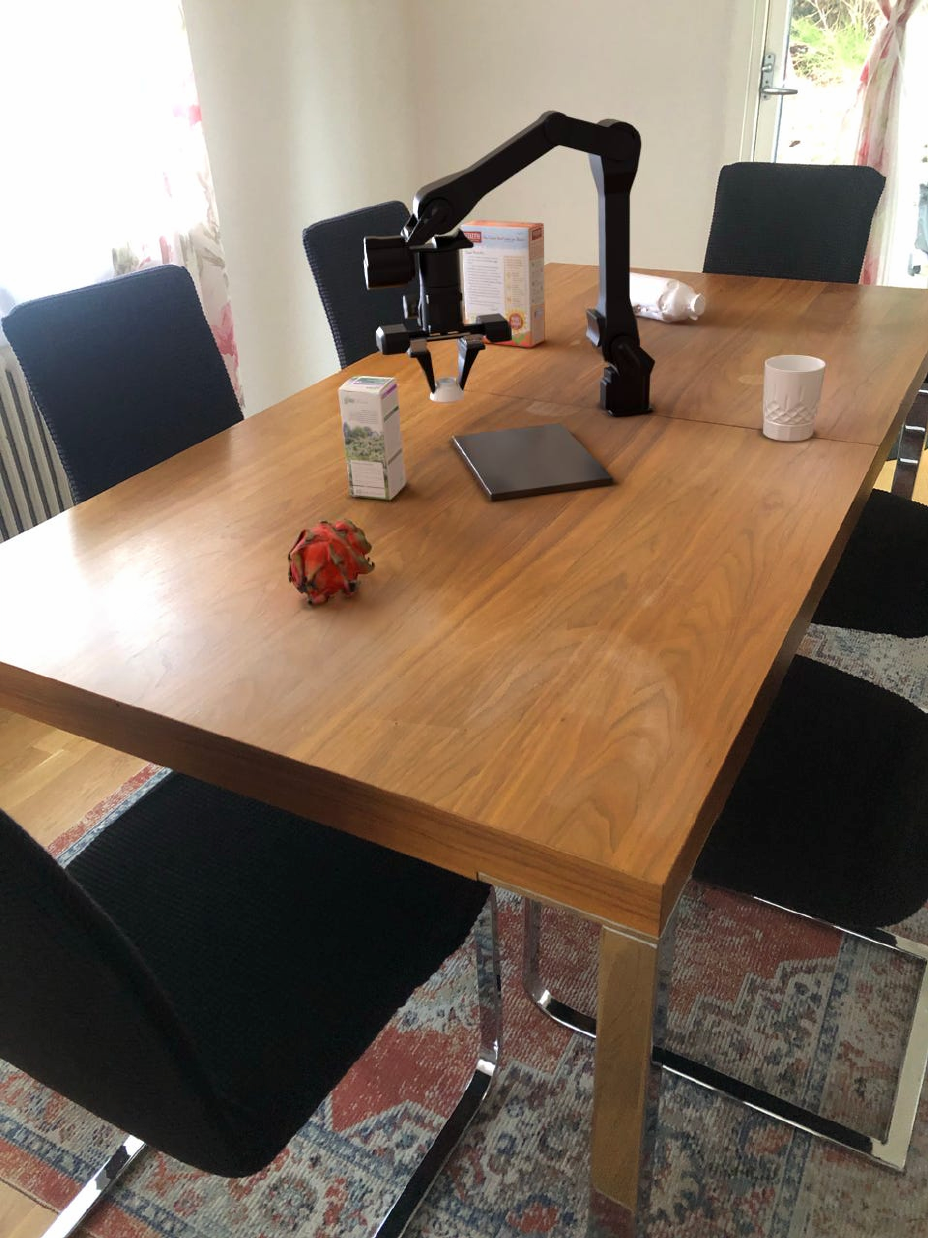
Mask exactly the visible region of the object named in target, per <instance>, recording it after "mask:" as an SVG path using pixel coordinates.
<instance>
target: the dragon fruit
mask: <svg viewBox="0 0 928 1238" xmlns="http://www.w3.org/2000/svg"><path fill="white" fill-rule="evenodd" d="M372 549H373V546H372V544H371V543H370V542H369V541H368V540H367V538H366V534H365V531H364V530H362V528H359V527H358V526H356V525H355V524H354V523H353V522H352V521H351V520H349V519H346V518H344V519H343V518H342V519H339V520H337V521H336V523H335V524H333V523H330V522H328V520H327V519H324V520H323V519H319V520H318V526H317V528H315V529H306V528H305V529H303V530H301V531H300V532H299V534H298V535H297V537H296V540H295V541H294V544H293V546H292V547H291V548H290V551H289V552H288V555H287V561H288V573H287V575H288V582H289V584H291V583H292V585H293V586H294V587H295V589H296V590H297V591H298V592H299V593H300V594H301V595H303V594H306V595H307V597H306V599H307V602H306V604H307V605H309V606H310V607H311V606H312V605H313V604H314V605H318V604H322V603H324V604H326V603H329V602H331V601H332V600H333V599H334V597H335V596H334V594H336V593H338V592H339V591H341V592H342V594H344V595H345V596H347V597H351V596H353V595H354V594H355V593H356V592H357V591H358V590H359V589H360V586H361V585H362V581H361V580H358V576H359V575H368V574H370V573H372V572H374V570H375V569H376V563H375V562H374V561H371V559H370V557H369V556H368V557H367V558H366V555H368V554H370V553H371V552H372ZM370 562H371V563H370ZM331 595H333V596H332V597H331Z"/></svg>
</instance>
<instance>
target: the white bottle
mask: <svg viewBox="0 0 928 1238" xmlns="http://www.w3.org/2000/svg"><path fill="white" fill-rule="evenodd" d="M630 300H631V304H632V307H633V310H634V314H635V316H637V317H642V318H646V319H652V320H656V321H661V322H665V323H669V324H670V323H675V322H680V321H685V320H686V319H688V318H690V319H691V320H694V321H697V320H698V318H699V317H698V316H701V315H703V313H705V309H706V306H707V300H706V297H705V296H704V295H703V293H702V292H700V293H698V294H697V293H696V292H695V290H694V288H693V287H692V286H690V285H688V284H685V283H684V282H682V281H680V280H678V279H675V278H671V277H670V278H669V277H662V276H657V275H650V274H645V273H637V272H634V271H633V272H631V271H630Z"/></svg>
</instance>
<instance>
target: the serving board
mask: <svg viewBox="0 0 928 1238" xmlns="http://www.w3.org/2000/svg"><path fill="white" fill-rule="evenodd" d="M452 444H453V445H454V447H455V449H456V450H457V451H458V452H459V454H460V455H461V457H462V458H463V460H464V462H465V463H466V465H467V467H468V468H469V470H470V471H471V472H472V474H473V475H474V477H475V478H476V480H477V482H478V483H479V485H480V486H481V488H482V490H483V491H484V492H485V494H486V495H487V497H488V499H489V500H490V502H496V501H504V500H511V499H519V498H526V497H532V496H540V495H547V494H554V493H560V492H561V493H562V492H568V491H569V492H570V491H576V490H583V489H591V488H598V487H606V486H612V485H613V484H614V483H613V482H614V477H613V476H612V475H611V474H610V472H608V471H607V470H606V469H605V467H603V466H602V464H601V463H600V462H599V461H598V460H597V459H596V458H595V457H594V456H593V455H592V454H591V453H590V452H589V451H588V450H587V449H586V448H585V447H584V446H583V445H582V443H580V442H579V440H577V439H576V437H574V435H573V434H571V432H570V431H569V430H568V429H567V428H566V427H565V426H564V425H563V424H562V423H561V422H554V423H546V424H539V425H531V426H523V427H514V428H507V429H498V430H492V431H484V432H476V433H468V434H459V435H452Z"/></svg>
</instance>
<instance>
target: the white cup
mask: <svg viewBox="0 0 928 1238" xmlns="http://www.w3.org/2000/svg"><path fill="white" fill-rule="evenodd" d="M826 366H827V363H826V362H825V361H824V360H823V359H820V358H818V357H815V356H810V355H803V354H783V355H776V356H772V357H769V358H767V359H766V360H765V361H764V371H763V372H764V373H763V374H764V375H763V389H762V390H763V391H762V395H763V397H762V416H763V417H762V434H763V435H764V436H765V437H767V439H770V440H775V441H779V442H787V443H788V442H802V441H805V440H808V439H810V438H811V437H813V434H814V428H815V422H816V418H817V415H818V410H819V405H820V402H821V395H822V389H823V383H824V379H825V373H826Z"/></svg>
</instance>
